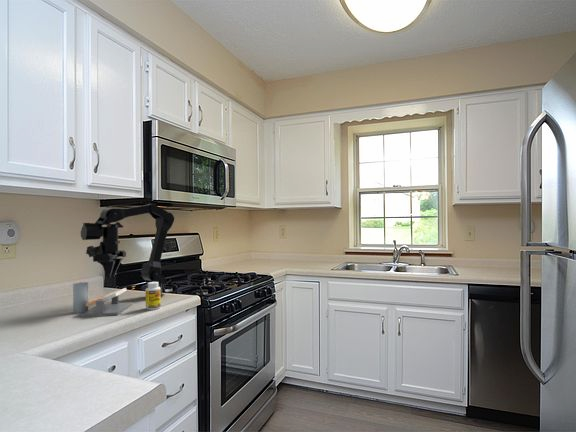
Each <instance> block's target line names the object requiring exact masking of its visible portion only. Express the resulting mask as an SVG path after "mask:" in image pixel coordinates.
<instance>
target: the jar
mask: <svg viewBox="0 0 576 432" xmlns="http://www.w3.org/2000/svg"><path fill="white" fill-rule="evenodd" d="M88 302H89V282H88V281H86V282H85V281H82V282H74V283H72V313H73V314H79V315H80V314H82V313H84V312H85V311H87V310H89V306H88V307H87V306H86V303H88Z"/></svg>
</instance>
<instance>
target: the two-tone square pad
mask: <svg viewBox="0 0 576 432" xmlns="http://www.w3.org/2000/svg"><path fill="white" fill-rule="evenodd" d="M125 292H127V287H124V288H121V289H118V290H115V291H112V292H110V293H107V294H103V295H101V296H98V297H97V298H95V299H92V300H91V301H88V303H86V306H87V307H88V308H89V307H90V306H93V305H96V301H97V300H104V303H106V302H108V301H111V300H112V298H113V297H116V296H118V295H122V294H124V293H125Z"/></svg>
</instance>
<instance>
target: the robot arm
mask: <svg viewBox="0 0 576 432" xmlns="http://www.w3.org/2000/svg"><path fill="white" fill-rule="evenodd" d="M144 214H149V215H150V216H151V218H153V220H155V223H154V224H155V229H156V231H155V236H154V240H153V244H152V247H151V250H150V254H149V258H148V261H147V262H146V263H145V262H143V263H142V267H141V270H140V273H141V277H142V279H143V280H144V282H145V283H146V284H148V283H149V282H158V284H159V286H158V287H160V288H161V298H162V297H164V296H165V293H163V284H166V281H167V278H166V277H165V276H164V275H163V274H162V265H161V259H162V255H163V250H164V247H165V243H166V239H167V235H168V232H169V231H170V229H172V227H173V224H174V222H175V216H174V214H173V213H172V212H168V211H167V210H166V209H163V208H162V207H160V206H158V205H157V204H155V203H148V204H146V205H145V204H144V205H138V206H132V207H127V208H114V207H113V208H107V209H105V208H104V209H102V211H101V212H100V215H99V217H98V218H97V220H96V221H95V222H94V223H93V222H83V223H82V227H81V230H80V237H81V239H82V241H88V240H89V241H92V240H94V241H95V240H100V239H101V238H102V241H100V242H99V245H98V246H94V245H90V246H86V250H85V251H86V252H85V254H86V255H88V257H89V258H91V257H92V262H97V263H99V264H100V265H101V266H102V268H103V270H104V273H105V276H106V278H111V276H112V277H113V276H115V275H116V273H117V270H118V269H119V266H120V264H121V263H122V260H124V258H125V257H127V252H126V251H125V250H123V249H122V250H119V244H120V243H121V240H119V229H121V228H122V229H123V228H124V225H123V224H121V221H122V220H125V219H126V218H129V217H134V216H140V215H144ZM119 221H120V222H119ZM121 257H122V258H121Z"/></svg>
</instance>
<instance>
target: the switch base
mask: <svg viewBox="0 0 576 432" xmlns="http://www.w3.org/2000/svg"><path fill="white" fill-rule="evenodd" d="M119 299H120V298H119V295H118V296H116V297H113V298H111V302H110V303H108V302H107V303H106V302H104V300H97V301H96V304H95V306H93V307H91V308H88V310H87V311H85V312H84V313H79V317H80V318H87V317H88V318H89V317H107V316H110V317H111V316H119V315H120V314H121V313H123V312H125V310H128V308H130V307H131V306H133V304H134V303H133V302H132V301H131V302H129V301H128V302H119V301H120V300H119Z"/></svg>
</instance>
